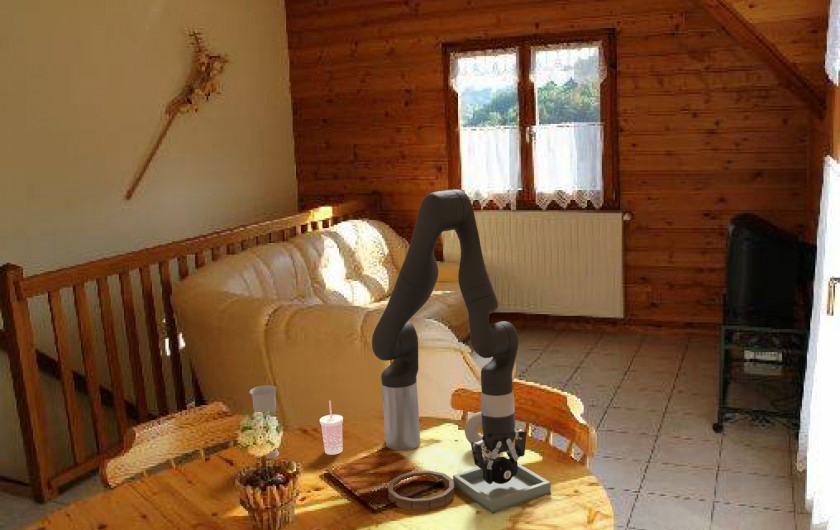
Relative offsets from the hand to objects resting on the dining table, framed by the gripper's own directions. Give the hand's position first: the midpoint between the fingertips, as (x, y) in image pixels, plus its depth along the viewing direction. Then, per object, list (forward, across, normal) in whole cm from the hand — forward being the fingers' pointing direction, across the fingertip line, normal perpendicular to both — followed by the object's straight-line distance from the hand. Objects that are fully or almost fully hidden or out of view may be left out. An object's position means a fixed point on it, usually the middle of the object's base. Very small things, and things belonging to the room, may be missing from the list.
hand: (500, 478), depth 186 cm
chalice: (+3, +38, -52) cm, 64 cm away
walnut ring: (+3, +16, -9) cm, 19 cm away
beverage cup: (+3, +23, -44) cm, 50 cm away
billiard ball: (+1, 0, 0) cm, 1 cm away
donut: (+3, -10, -22) cm, 24 cm away
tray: (+3, 0, 0) cm, 3 cm away
